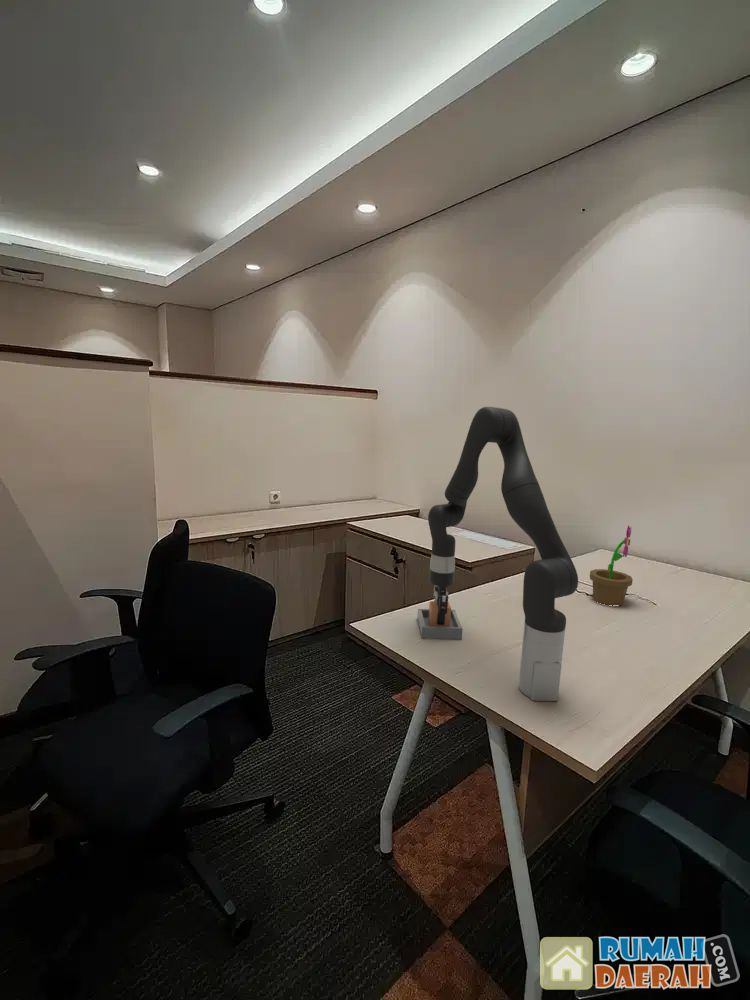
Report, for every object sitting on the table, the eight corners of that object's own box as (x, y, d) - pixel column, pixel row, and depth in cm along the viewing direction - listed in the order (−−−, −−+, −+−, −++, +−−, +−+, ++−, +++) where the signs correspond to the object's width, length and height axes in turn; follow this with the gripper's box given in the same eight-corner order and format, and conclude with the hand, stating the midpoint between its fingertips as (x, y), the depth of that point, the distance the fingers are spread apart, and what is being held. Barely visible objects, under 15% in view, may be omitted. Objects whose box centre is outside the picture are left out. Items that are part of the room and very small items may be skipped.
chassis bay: (461, 639, 141) (462, 628, 140) (421, 638, 141) (422, 627, 140) (453, 619, 155) (454, 609, 154) (417, 618, 155) (418, 608, 154)
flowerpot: (625, 612, 166) (636, 529, 161) (582, 602, 174) (591, 522, 169) (632, 600, 177) (642, 523, 172) (591, 591, 186) (600, 517, 181)
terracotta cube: (449, 629, 145) (451, 608, 144) (430, 629, 145) (431, 607, 144) (447, 622, 150) (448, 601, 149) (428, 622, 150) (429, 601, 149)
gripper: (458, 576, 137) (455, 630, 140) (450, 561, 151) (447, 610, 154) (432, 575, 137) (429, 629, 140) (427, 560, 151) (424, 610, 154)
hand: (439, 619), depth 147 cm, fingers open, 6 cm apart
